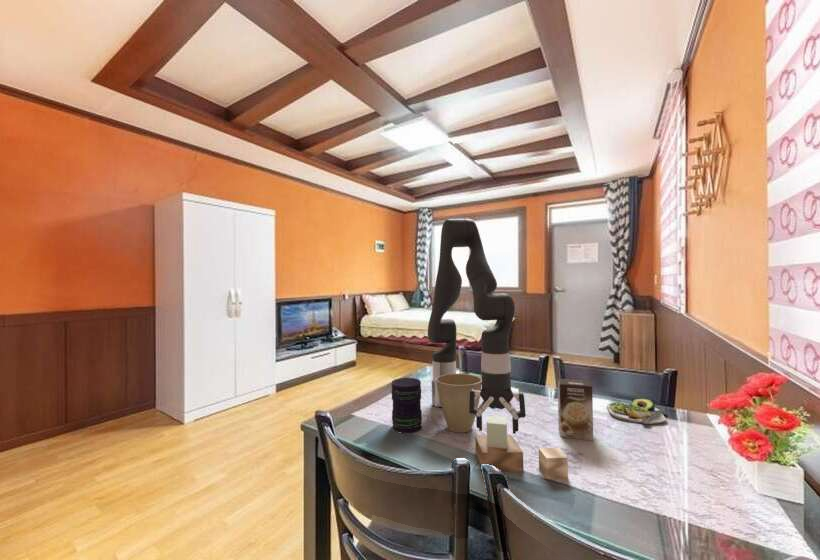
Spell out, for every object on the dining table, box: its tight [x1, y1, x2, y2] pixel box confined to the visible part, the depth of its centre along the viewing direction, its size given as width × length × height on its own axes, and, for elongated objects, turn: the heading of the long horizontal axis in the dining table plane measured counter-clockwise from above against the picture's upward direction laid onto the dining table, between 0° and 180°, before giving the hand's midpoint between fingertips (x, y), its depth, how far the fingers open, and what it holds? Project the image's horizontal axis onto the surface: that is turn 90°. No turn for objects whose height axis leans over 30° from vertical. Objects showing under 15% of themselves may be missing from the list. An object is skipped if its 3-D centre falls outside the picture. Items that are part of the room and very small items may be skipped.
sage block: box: [486, 415, 508, 449], centre depth 89 cm, size 5×5×6 cm
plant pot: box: [436, 373, 482, 434], centre depth 110 cm, size 15×15×16 cm
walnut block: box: [474, 434, 524, 473], centre depth 89 cm, size 10×10×5 cm
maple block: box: [537, 447, 569, 480], centre depth 83 cm, size 5×5×5 cm
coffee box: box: [557, 378, 594, 442], centre depth 104 cm, size 9×6×16 cm
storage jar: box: [391, 377, 423, 434], centre depth 112 cm, size 10×10×15 cm
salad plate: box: [606, 398, 666, 425], centre depth 117 cm, size 19×18×5 cm
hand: (497, 431), depth 89 cm, fingers open, 8 cm apart
